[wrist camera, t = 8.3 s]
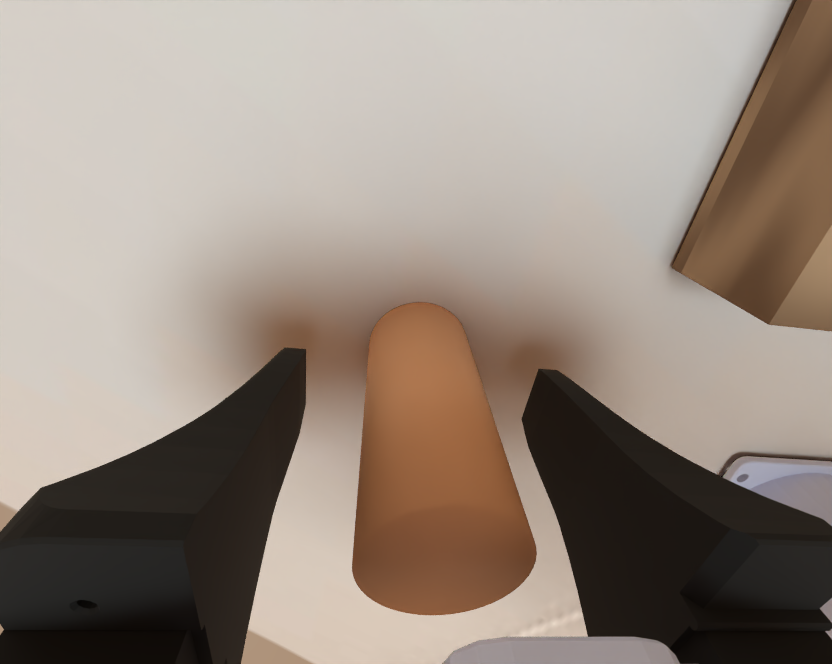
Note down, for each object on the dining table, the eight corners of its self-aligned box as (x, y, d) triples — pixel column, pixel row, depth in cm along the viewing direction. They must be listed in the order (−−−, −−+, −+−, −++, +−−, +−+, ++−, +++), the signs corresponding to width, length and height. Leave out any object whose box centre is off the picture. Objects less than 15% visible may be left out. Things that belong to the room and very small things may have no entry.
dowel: (456, 388, 16) (510, 615, 9) (365, 381, 15) (346, 614, 8) (475, 307, 14) (560, 509, 7) (373, 297, 14) (359, 500, 7)
